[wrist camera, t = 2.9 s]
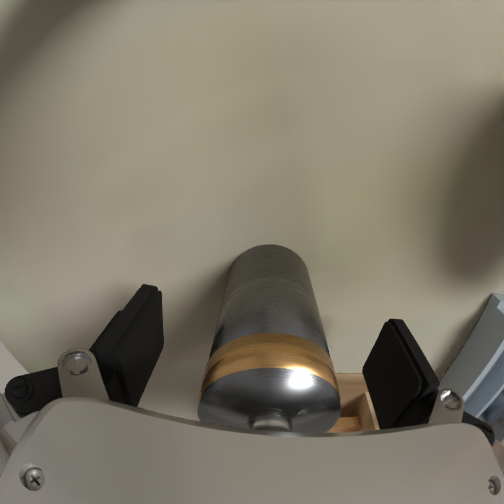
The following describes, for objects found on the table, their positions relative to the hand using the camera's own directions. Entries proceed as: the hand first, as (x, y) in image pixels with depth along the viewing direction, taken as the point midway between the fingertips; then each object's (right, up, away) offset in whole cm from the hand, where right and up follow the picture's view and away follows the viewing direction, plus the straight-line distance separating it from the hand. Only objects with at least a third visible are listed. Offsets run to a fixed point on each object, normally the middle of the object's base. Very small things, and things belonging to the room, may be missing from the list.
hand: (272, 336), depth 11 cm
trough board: (+21, -8, +6) cm, 23 cm away
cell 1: (0, +2, +3) cm, 3 cm away
